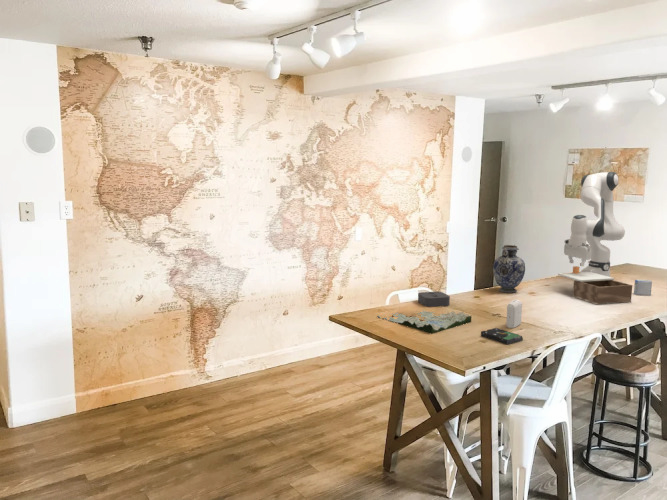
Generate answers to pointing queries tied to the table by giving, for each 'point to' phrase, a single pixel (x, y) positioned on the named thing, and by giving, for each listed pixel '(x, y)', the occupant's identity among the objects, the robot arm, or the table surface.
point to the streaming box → (433, 299)
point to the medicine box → (642, 287)
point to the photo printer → (514, 314)
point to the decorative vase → (509, 269)
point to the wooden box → (603, 291)
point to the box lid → (584, 276)
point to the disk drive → (501, 336)
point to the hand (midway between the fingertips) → (576, 264)
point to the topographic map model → (432, 321)
